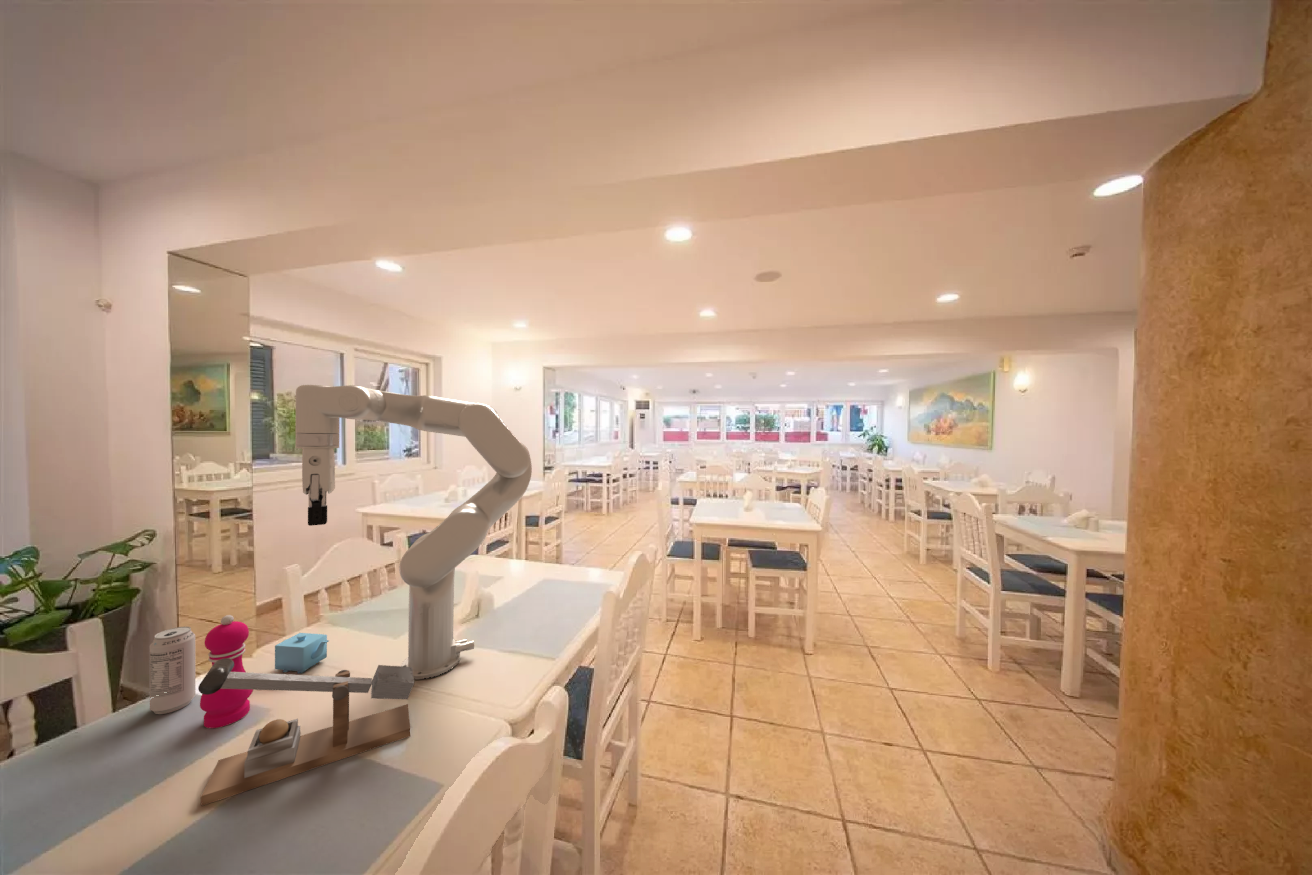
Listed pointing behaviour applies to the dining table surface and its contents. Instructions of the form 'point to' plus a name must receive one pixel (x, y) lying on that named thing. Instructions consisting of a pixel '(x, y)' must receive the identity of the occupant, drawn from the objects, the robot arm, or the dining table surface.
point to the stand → (306, 747)
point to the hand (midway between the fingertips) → (317, 524)
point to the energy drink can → (172, 670)
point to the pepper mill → (230, 644)
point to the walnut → (273, 731)
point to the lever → (310, 681)
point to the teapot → (300, 652)
